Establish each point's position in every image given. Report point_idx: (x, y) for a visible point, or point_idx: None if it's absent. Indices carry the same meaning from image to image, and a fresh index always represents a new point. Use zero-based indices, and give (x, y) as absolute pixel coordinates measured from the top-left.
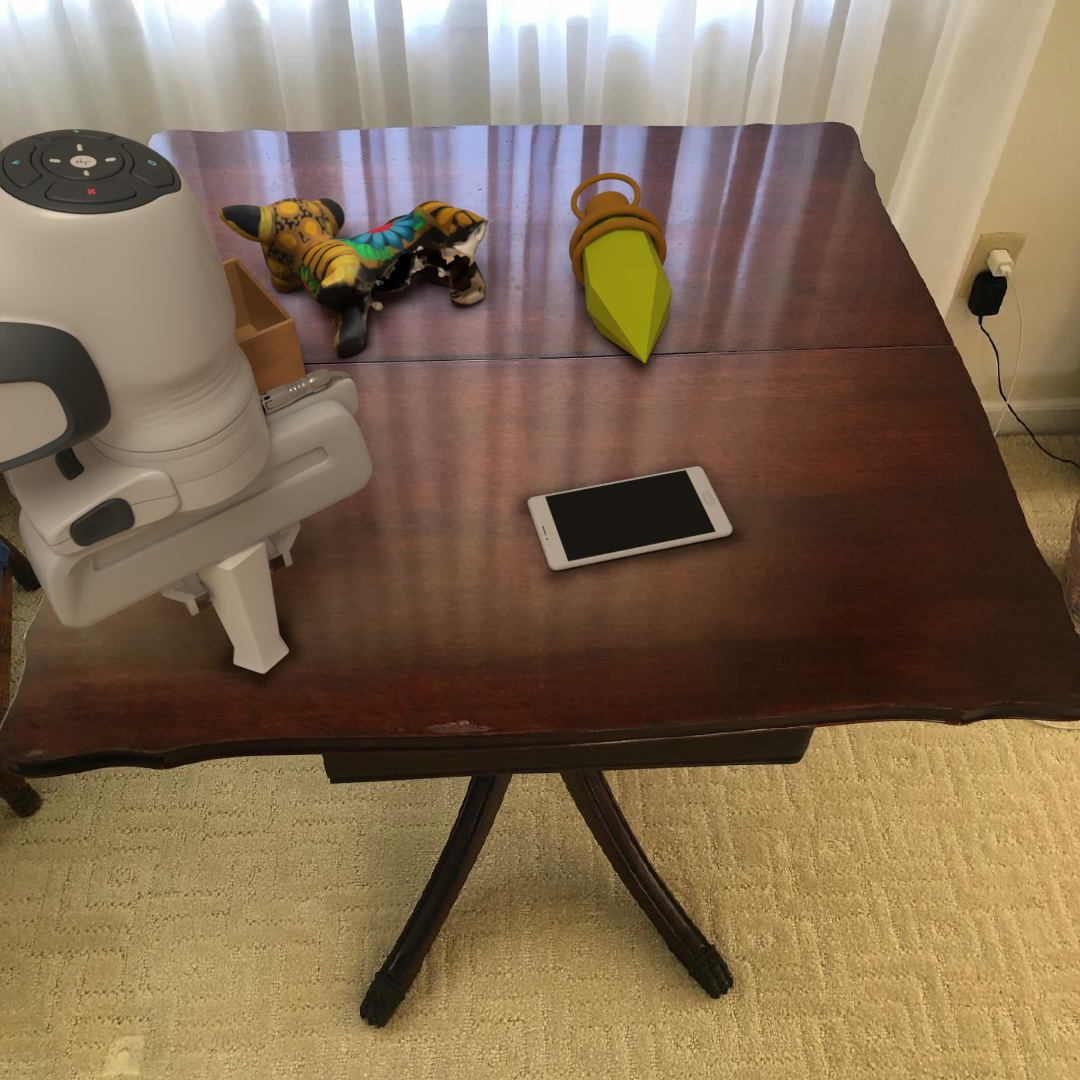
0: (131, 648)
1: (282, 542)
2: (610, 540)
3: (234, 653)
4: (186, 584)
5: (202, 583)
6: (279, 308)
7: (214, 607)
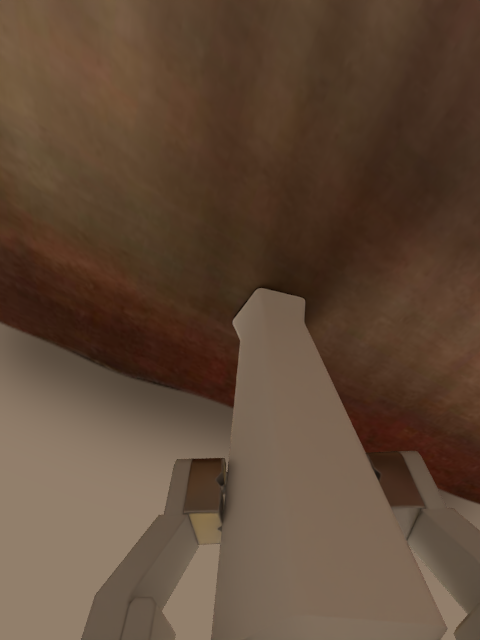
0: (101, 224)
1: (436, 571)
2: None
3: (237, 333)
4: (188, 533)
5: (224, 504)
6: None
7: (232, 426)
